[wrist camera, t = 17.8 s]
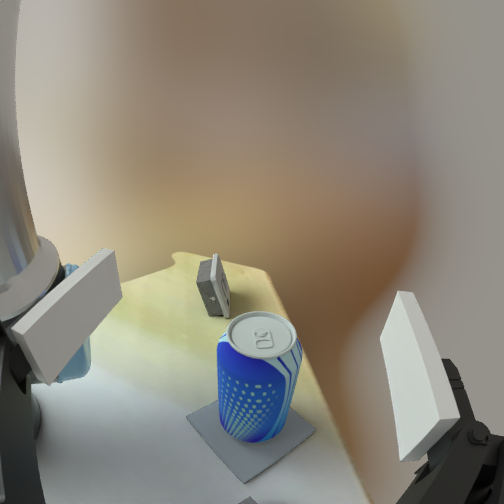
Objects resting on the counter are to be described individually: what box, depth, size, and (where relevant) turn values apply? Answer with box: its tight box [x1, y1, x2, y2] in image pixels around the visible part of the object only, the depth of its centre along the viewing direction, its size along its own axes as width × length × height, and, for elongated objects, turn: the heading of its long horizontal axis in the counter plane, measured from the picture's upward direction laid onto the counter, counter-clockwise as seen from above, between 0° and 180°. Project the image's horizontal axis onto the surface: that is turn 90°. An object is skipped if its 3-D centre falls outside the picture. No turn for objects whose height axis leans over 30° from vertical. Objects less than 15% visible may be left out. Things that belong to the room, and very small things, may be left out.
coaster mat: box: [186, 399, 316, 484], centre depth 34 cm, size 12×12×1 cm
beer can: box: [217, 311, 302, 443], centre depth 31 cm, size 8×8×16 cm
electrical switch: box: [196, 254, 230, 318], centre depth 56 cm, size 9×5×9 cm, turn 3°
